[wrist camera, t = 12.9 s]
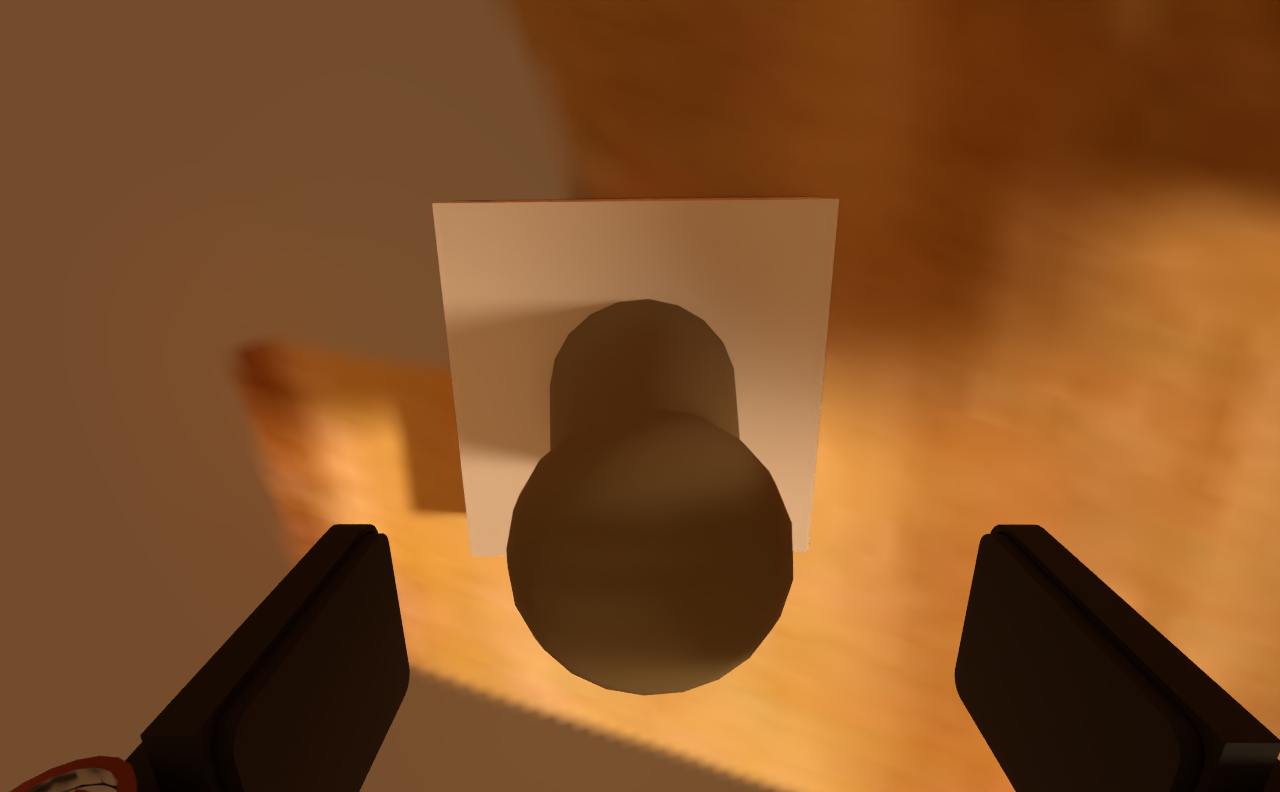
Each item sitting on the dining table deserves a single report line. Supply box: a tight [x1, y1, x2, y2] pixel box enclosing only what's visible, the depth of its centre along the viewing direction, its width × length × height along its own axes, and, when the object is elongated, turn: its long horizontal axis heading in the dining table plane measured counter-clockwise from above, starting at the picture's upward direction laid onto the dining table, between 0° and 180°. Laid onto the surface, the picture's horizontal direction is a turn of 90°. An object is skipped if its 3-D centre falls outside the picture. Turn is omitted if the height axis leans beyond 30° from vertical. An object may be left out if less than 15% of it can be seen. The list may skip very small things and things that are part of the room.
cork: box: [506, 299, 793, 695], centre depth 15 cm, size 6×6×11 cm
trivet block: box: [432, 197, 839, 556], centre depth 22 cm, size 12×12×3 cm
